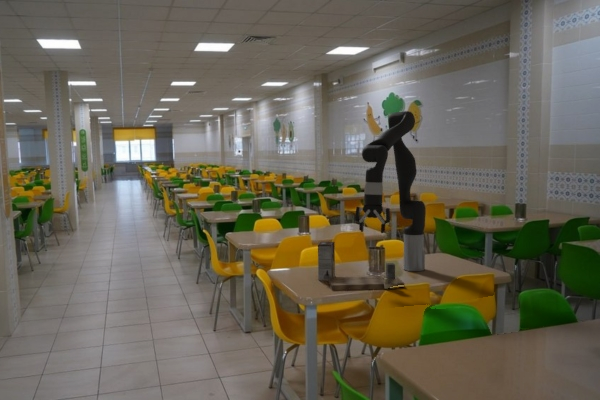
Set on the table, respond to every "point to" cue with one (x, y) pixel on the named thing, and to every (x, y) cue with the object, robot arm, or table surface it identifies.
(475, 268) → the table surface
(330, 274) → the coffee box
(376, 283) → the board
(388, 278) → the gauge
